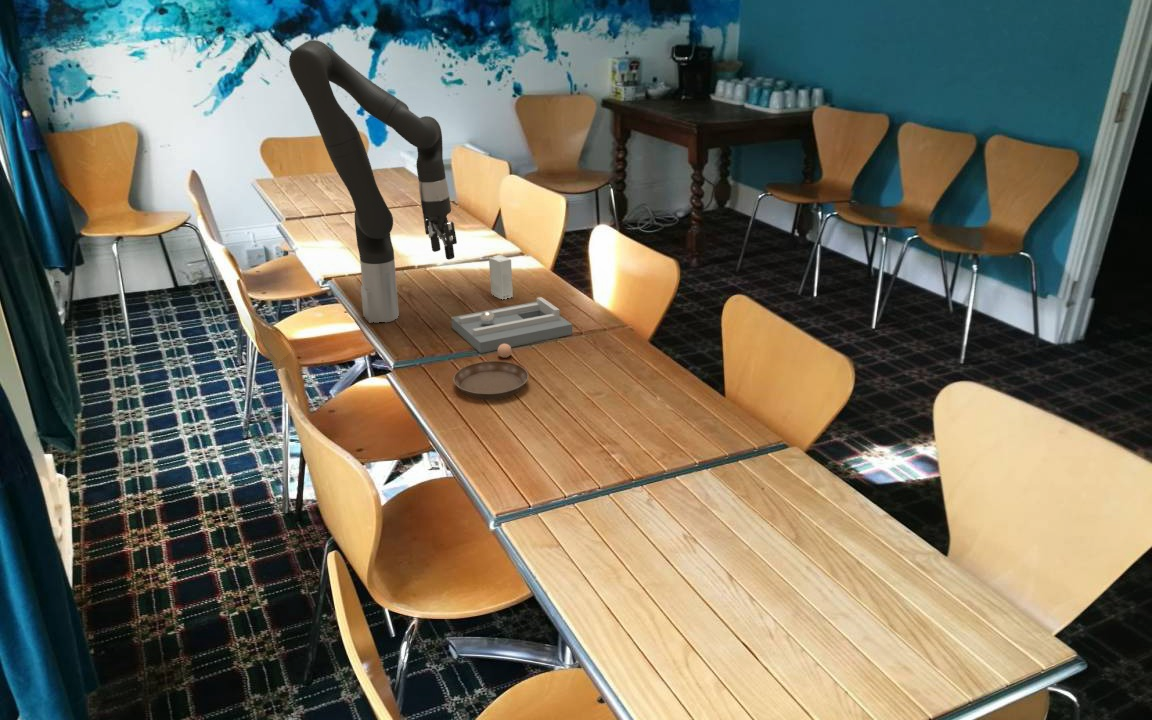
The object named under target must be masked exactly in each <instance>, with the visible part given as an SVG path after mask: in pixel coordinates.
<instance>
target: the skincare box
mask: <svg viewBox="0 0 1152 720" xmlns="http://www.w3.org/2000/svg"><path fill="white" fill-rule="evenodd" d="M488 263H489V279H490V293H491V294H492V295H491V296H493V295H494V296H493V297H496V298H497V299H499V300H501V299H502V301H504V300H503V299H505V300H508V299H507V298H509V299H512V298H514V290H513V276H512V275H513V273H512V271H513V270H512V259H511V258H508V257H507V256H503V255H500V254H497V255H493V256H490V257H488ZM511 297H512V298H511Z"/></svg>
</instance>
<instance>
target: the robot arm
mask: <svg viewBox="0 0 1152 720" xmlns="http://www.w3.org/2000/svg"><path fill="white" fill-rule="evenodd" d="M289 55H290V56H289V60H288V66H289V70H290V72H291V73H290V74H291V75H292V77H293V79H294V80H295V81H294V82H296V84H297V86H298V88H299V90H300V92H301V94H302V95H303V98H304V100H305V102H306V103H307V105H308V107H309V109H310V112H311V115H312V116H313V119H314V122H315V124H316V127H317V130H318V131H319V133H320V136H321V139H322V142H323V144H324V146H325V149H326V151H327V153H328V156H329V158H330V161H331V163H332V165H333V166H334V169H335V170H336V172H337V175H338V176H339V177H340V179H341V181H342V183H343V184H344V186H345V188H346V189H347V191H348V193H349V194H350V197H351V199H352V202H353V206H354V208H355V210H354V228H355V235H356V244H357V245H356V246H357V250H358V254H359V259H360V260H359V263H360V272H361V282H362V284H360V295H361V303H362V304H361V305H362V314H363V315H362V316H363V317H365V318H364V319H365V320H366V321H367V322H368V323H370V324H372V323H373V322H374V323H373V324H375V323H376V324H377V323H378V324H380V323H379V322H385V323H390V322H393V321H396V320H397V319H399V317H398V316H400V315H399V310H400V309H399V300H398V299H399V298H398V288H397V287H398V286H397V275H396V261H395V251H394V246H393V243H392V239H391V238H392V237H391V232H392V230H393V227H394V217H393V214H392V212H391V211H390V208H389V206H388V205H387V203H386V202H385V199H384V197H383V195H382V194H381V191H380V190H379V187H378V185H377V182H376V179H375V176H374V171H373V168H372V164H371V162H370V159H369V156H368V153H367V149H366V148H365V144H364V142H363V139H362V136H361V134H360V131H359V130H358V128H357V125H356V124H355V122H354V121H353V119H352V118H351V117H350V116H349V115H348V113H346V111H345V110H344V109H343V108H342V106H341V105H340V104H339V101H337V98H336V96H335V94H334V91H333V89H332V86H331V84H330V82H331V83H333V84H335V85H337V86H338V87H339V88H341V89H342V90H344V91H345V92H346V93H347V94H349V95H350V96H351V97H352V98H353V99H354V101H356V102H357V104H358V106H360V107H361V108H362V109H363V110H364V111H366V113H368V114H369V115H370V116H372V117H373V118H375V119H377V120H378V121H380V122H381V123H383V124H384V125H387V126H388V127H390V128H391V129H393V130H394V131H395V132H396V133H397V134H398V135H399V136H400V137H401V138H403V139H404V140H405V141H406V142H408V144H411V145H412V146H414V147H415V148H416V149H417V150H416V151H417V158H416V171H417V180H418V191H419V198H420V204H421V211H422V215H423V223H424V230H425V231H424V232H425V235H428V238H429V239H430V245H431V250H432V251H433V252H434V253H435V252H436V253H437V252H439V251H441V243H440V242H441V241H442V243H443V247H444V248H443V249H444V254H445V259H447V260H448V261H449V260H453V259H455V250H454V245H457V244H458V241H457V235H456V230H455V223H454V221H449V219H448V217H447V215H449V214H450V213H451V212H452V206H451V198H450V190H449V186H448V181H447V177H446V171H445V165H444V159H443V158H444V155H443V134H442V128H441V125H440V123H439V122H438V120H436V119H435V117H431V116H426V115H425V116H422V117H419V116H418V115H416V114H415V113H414V112H412V111H411V110H410V109H409V106H408V105H407V104H406V103H405V102H404V101H402V100H400V99H398V98H397V97H395V96H394V95H393V94H391V93H390V92H388V91H386V90H385V89H383V88H382V87H380V86H379V85H377V84H376V83H374V82H373V81H371V80H370V79H368V78H367V77H366V76H365V75H364V74H362V73H361V72H360V71H358V70H357V69H356V68H354V67H353V66H352V65H351V64H349V63H348V62H347V61H346V60H345V59H344V58H343V57H341V56H340V55H339V54H338V53H337V52H336V51H335V50H334V49H332V48H331V47H330V46H328V44H326V43H324V42H323V41H320V40H315V39H312V40H308V41H306V42H304V43H301V44H300V45H298V46H297V47H296V48H294V49H293V50H292V51H291V53H290V54H289ZM440 240H441V241H440ZM395 319H396V320H395Z"/></svg>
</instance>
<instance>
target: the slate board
mask: <svg viewBox="0 0 1152 720" xmlns="http://www.w3.org/2000/svg"><path fill="white" fill-rule="evenodd" d="M535 300H536V301H533V302H527V303H522V304H517V305H511V306H510V305H509V306H505V307H499V308H494V309H488V310H487V311H490V312H492V313H493V314H494V316H495V321H494V323H493V324H492V325H489V326H485V325H483V324H482V323H481V321H480V315H481V314H482V313H483V312H484V311H485V310H483V311H478V312H473V313H467V314H461V315H456V316H452V317H450V323H451V329H453V330H454V331H455V332H456V333H457V334H458V335H460V336H461V337H462V339H464V340H465V341H466V342H467V343H468V344H469V345H471V347H473V348H474V349H475V350H476V351H477V352H478V353H479V354H484V353H488V352H489V353H490V352H494V351H497V350H498V347H499V346H500V345H501V344H508V345H509V346H510V347H511V348H513V347H518V346H523V345H527V344H528V345H529V344H532V343H537V342H543V341H547V340H553V339H557V338H562V337H566V336H571V335H573V323H571V322H570V321H568V320H567V319H565V318H564V317H562V316H561V315H560V314H561V313H560V312H561V310H560V309H559V308H558V307H557V306H555V305H554V304H552V303H551V302H549V301H548V300H546V299H545V298H543V297H542V296H540V297H536V299H535Z"/></svg>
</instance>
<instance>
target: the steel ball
mask: <svg viewBox="0 0 1152 720" xmlns="http://www.w3.org/2000/svg"><path fill="white" fill-rule="evenodd" d="M483 311H484V312H483V313H482V314H481V315H480V321H481V323H482V324H483V325H485V326H489V325H492V324H493V323H494V321H495V316H494V314H493V313H492V312H490V311H488V310H483Z"/></svg>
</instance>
